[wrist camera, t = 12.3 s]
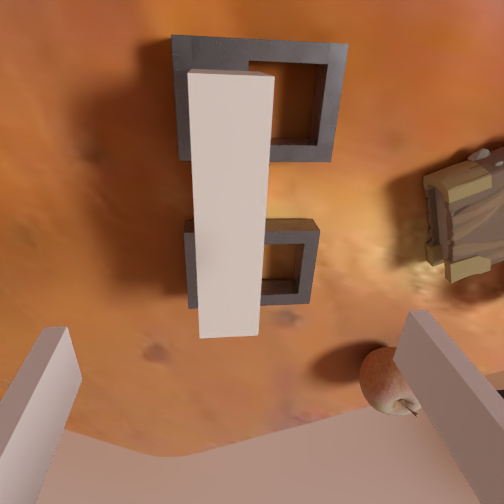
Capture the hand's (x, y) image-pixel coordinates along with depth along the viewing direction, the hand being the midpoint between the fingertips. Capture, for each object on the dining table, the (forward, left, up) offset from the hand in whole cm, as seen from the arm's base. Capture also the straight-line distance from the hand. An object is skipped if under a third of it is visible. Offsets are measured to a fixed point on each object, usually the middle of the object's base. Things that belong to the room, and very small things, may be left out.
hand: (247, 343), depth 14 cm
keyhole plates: (0, +4, -19) cm, 19 cm away
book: (+1, +26, -19) cm, 33 cm away
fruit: (+22, +19, -19) cm, 35 cm away
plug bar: (0, 0, -19) cm, 18 cm away
